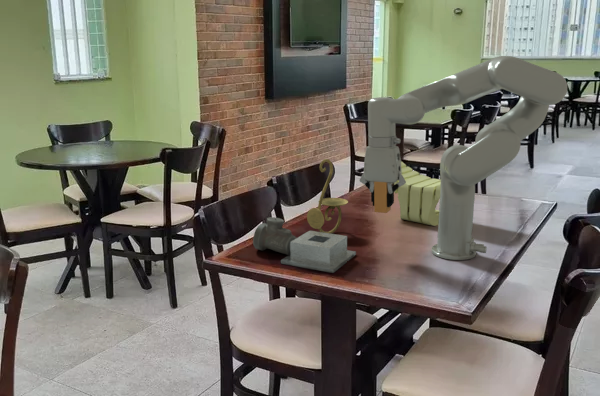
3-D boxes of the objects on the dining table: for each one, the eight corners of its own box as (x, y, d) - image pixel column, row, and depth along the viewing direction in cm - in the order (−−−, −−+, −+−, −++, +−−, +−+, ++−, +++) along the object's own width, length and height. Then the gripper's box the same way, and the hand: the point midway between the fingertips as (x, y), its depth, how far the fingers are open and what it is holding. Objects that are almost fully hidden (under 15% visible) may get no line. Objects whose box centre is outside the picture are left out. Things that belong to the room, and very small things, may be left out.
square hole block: (355, 254, 169) (356, 235, 167) (333, 272, 155) (333, 251, 153) (306, 246, 176) (306, 227, 174) (280, 263, 162) (280, 243, 161)
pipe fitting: (249, 250, 171) (254, 217, 169) (264, 245, 178) (269, 213, 176) (284, 262, 165) (289, 228, 163) (298, 256, 172) (303, 223, 170)
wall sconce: (326, 242, 179) (327, 163, 173) (303, 236, 185) (303, 159, 179) (353, 232, 189) (354, 156, 183) (330, 227, 196) (331, 153, 189)
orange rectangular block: (390, 209, 168) (390, 176, 166) (386, 213, 165) (386, 178, 163) (378, 208, 170) (378, 175, 168) (374, 212, 167) (374, 178, 164)
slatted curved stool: (376, 216, 208) (377, 167, 203) (399, 207, 219) (401, 161, 215) (454, 233, 189) (457, 179, 184) (475, 222, 200) (479, 171, 196)
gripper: (414, 141, 162) (414, 204, 167) (359, 139, 170) (360, 200, 174) (406, 145, 156) (406, 211, 160) (349, 143, 163) (350, 206, 168)
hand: (382, 204), depth 167 cm, fingers closed on orange rectangular block, 3 cm apart
